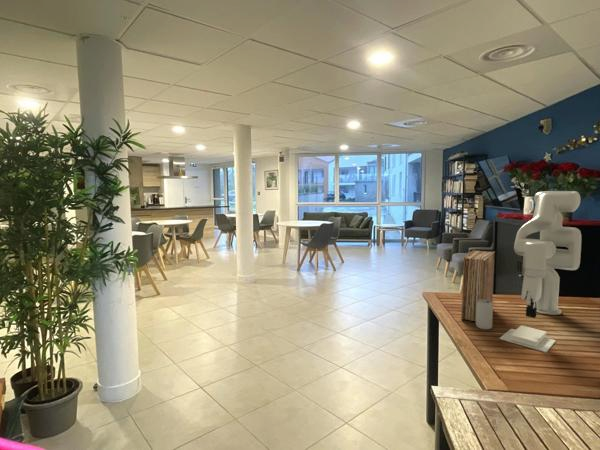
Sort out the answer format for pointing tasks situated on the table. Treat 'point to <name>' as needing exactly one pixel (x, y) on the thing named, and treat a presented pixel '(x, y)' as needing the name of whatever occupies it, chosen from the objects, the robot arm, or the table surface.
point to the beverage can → (484, 314)
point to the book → (477, 281)
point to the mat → (542, 346)
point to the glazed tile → (528, 336)
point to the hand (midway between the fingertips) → (530, 316)
